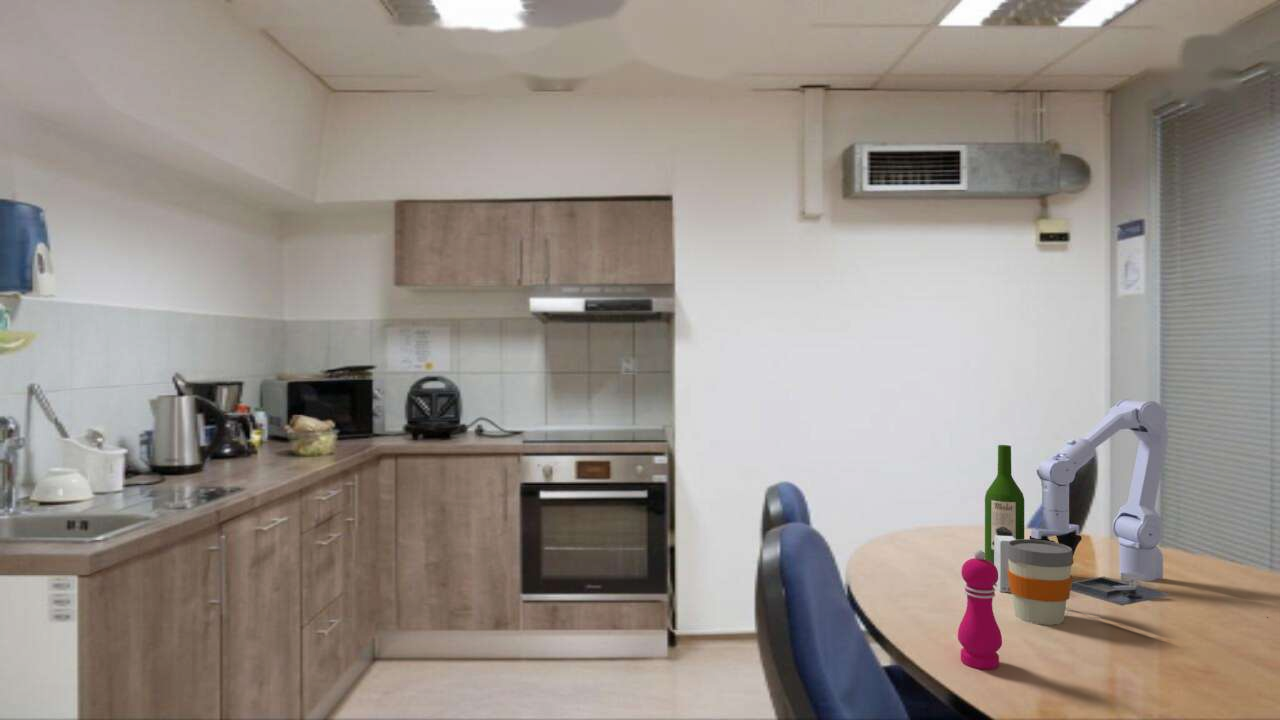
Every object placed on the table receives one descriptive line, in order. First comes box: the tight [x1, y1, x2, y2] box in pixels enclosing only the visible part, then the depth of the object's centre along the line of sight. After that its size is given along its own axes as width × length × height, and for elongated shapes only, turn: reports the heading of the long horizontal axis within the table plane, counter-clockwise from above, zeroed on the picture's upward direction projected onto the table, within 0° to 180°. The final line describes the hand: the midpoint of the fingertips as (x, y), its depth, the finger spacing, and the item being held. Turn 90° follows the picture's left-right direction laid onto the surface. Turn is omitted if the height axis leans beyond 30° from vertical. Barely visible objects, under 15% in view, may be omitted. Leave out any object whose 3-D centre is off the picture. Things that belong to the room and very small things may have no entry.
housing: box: [1070, 576, 1173, 606], centre depth 175 cm, size 18×16×2 cm
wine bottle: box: [984, 444, 1025, 564], centre depth 191 cm, size 9×9×32 cm
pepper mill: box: [957, 549, 1003, 670], centre depth 135 cm, size 7×7×20 cm
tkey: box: [1112, 572, 1145, 594], centre depth 170 cm, size 1×7×5 cm, turn 98°
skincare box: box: [994, 535, 1016, 593], centre depth 179 cm, size 6×4×12 cm
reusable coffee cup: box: [1006, 538, 1075, 626], centre depth 159 cm, size 13×13×15 cm
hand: (1055, 565), depth 184 cm, fingers open, 7 cm apart
